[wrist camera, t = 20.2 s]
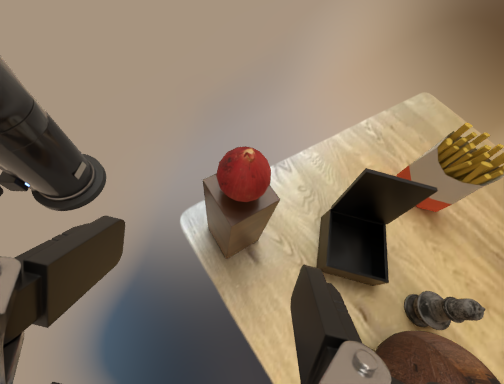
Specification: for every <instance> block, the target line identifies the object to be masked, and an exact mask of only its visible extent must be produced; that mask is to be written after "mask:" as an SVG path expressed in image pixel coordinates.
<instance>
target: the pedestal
mask: <svg viewBox="0 0 504 384" xmlns="http://www.w3.org/2000/svg"><path fill="white" fill-rule="evenodd" d="M216 175H217V174H214V175H212V176H210V177H208V178H206V179H203V186H204V195H205V204H206V212H207V221H208V228H209V230H210V231H211V233H212V235H213V237H214V238H215V240H216V242H217V244H218V245H219V247H220V249H221V251H222V252H223V254H224V256H225V258H226V259H228V258H229V257H231V256H233V255H234V254H236V253H238V252H239V251H241V250H243V249H244V248H246V247H248V246H249V245H251V244H252V243H254V242H256V241H257V240H258V239H259V237H260V236H261V234H262V232H263V230H264V228H265V227H266V225H267V223H268V221H269V219H270V217H271V216H272V214H273V212H274V210H275V208H276V206H277V205H278V203H279V201H280V199H279V197H278V196H277V194H276V193H275V192H274V190H273V189H272V188H271V186H270V185H269V186H268V188H267V190H266V192H265V193H264V195H262V196H261V197H259V198H258V199H256V200H253V201H249V202H241V201H236V200H234V199H232V198H230V197H228V196H227V195H226V194H225V193H224V192H223V191H222V190H221V189H220V187H219V183H218V180H217V177H216Z"/></svg>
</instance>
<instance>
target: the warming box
mask: <svg viewBox="0 0 504 384" xmlns="http://www.w3.org/2000/svg"><path fill="white" fill-rule="evenodd" d="M317 268H319V269H321V270H322V272H324V273H328V274H332V275H335V276H339V277H343V278H346V279H350V280H354V281H358V282H361V283H365V284H369V285H372V286H374V285H380V284H385V283H389V280H388V261H387V242H386V224H384V223H380V222H377V221H373V220H369V219H366V218H362V217H358V216H354V215H351V214H347V213H343V212H340V211H336V210H332V209H330V210H329V211H328V212H326V213H325V214H324V215H323V216H322V217H321V226H320V237H319V247H318V258H317Z"/></svg>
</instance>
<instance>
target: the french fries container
mask: <svg viewBox="0 0 504 384" xmlns="http://www.w3.org/2000/svg"><path fill="white" fill-rule="evenodd" d="M471 127H472V125H471V124H469V123H465V124H464V125H463V126H462V127H460V128H459V129H458V130H457V131H456V132H454V131H453V132H452V133H450V134H449V135H448V136H446V137H445V138H444V139H443V140H441V141H440V142H439V143H437V144H436V145H435V146H434V147H432V148H431V149H430V150H428V151H427V152H426V153H424V154H423V155H422V156H421V157H419V158H418V159H417V160H415V161H414V162H413V163H412V164H410V165H409V166H408V167H406V168H405V169H404V170H402V171H401V172H400V173H399V174H397V177H400V178H403V179H407V180H411V181H415V182H418V183H422V184H426V185H429V186H433V187H437V190H438V191H437V192H436V193H434V194H433V195H431V196H430V197H428V198H427V199H425V200H424V201H422V202H421V203H419V204H418V205H416V207H419V208H423V209H426V210H430V211H434V212H437V211H439V210H441V209H443V208H446V207H448V206H450V205H452V204H454V203H456V202H457V201H459V200H461V199H462V198H464V197H466V196H468V195H469V194H471V193H473V192H475V191H476V190H478V189H480V188H482V187H484V186H487V185H489V184H491V183H493V182H495V181H497V180H499V179H501V178H502V177H503V176H504V165H503V166H501V167H499V165H501V164H503V163H504V153H502V154H501V155H499V156H498V157H496V158H495V159H493V160H492V161H491V160H490V159H489V158H490V157H491V156H493V155H494V154H495V153H497V152H498V151H499V150H501V149H502V148H503V147H504V146H503V145H501V144H498V145H497V146H496V147H494V148H493V149H491V147H489V146H487V145H485V146H483V147H481V148H479V149H478V150H477V149H476V147H475V146H476V145H478V144H479V143H481V142H482V141H483V140H485V139H486V138H487V137H489V136H490V135H489V134H488V133H483V134H482V135H480V136H479V137H477V138H476V139H475V140H473V141H472V142H470V143H468V141H469V140H471V139H472V138H474V137H475V136H477V134H476V133H474V132H473V133H471V134H470V135H468V136H467V137H465V138H464V137H463V138H462V137H460V136H461V135H462V134H463V133H464V132H466V131H467V130H468V129H469V128H471ZM490 149H491V150H490ZM489 150H490V151H489ZM487 151H489V152H487Z"/></svg>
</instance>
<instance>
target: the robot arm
mask: <svg viewBox="0 0 504 384" xmlns="http://www.w3.org/2000/svg"><path fill="white" fill-rule="evenodd" d="M0 169H1V170H2V171H3V172H2V173H1V175H0V184H1V185H2V186H4V187H6V188H7V189H9V190H11V191H27V190H28V188H30V189H31V190H33V191H34V192H36V193H40V194H41V195H43V196H44V197H46V198H48V199H50V200H53V201H68V200H72V199H75V198H77V197H79V196H81V195H83V194H84V193H86V192H87V191H88V190H89V189H90V188H91V186H92V185H93V183H94V181H95V178H96V171H95V168H94V167H93V165H92V164H91V163H90V162H89V161H88V160H87V159H86V158H85V157H84V156H83V154H81V152H80V151H79V150H78V149H77V147H76V146H75V145H74V144H73V143H72V141H71V140H70V139H69V138H68V137H67V136H66V135H65V133H64V132H63V131H62V130H61V129H60V128H59V126H58V125H57V124H56V123H55V122H54V120H53V119H52V118H51V117H50V116H49V115H48V113H47V112H46V111H45V110H44V109H43V108H42V107H41V105H40V104H39V103H38V102H37V101H36V100H35V98H34V97H33V96H32V95H31V94H30V93H29V91H28V90H27V89H26V88H25V87H24V86H23V84H22V83H21V82H20V81H19V79H18V78H17V77H16V75H15V74H14V72H13V71H12V70H11V68H10V67H9V66H8V64H7V63H6V62H5V61H4V59H3V58H2V57H1V56H0ZM2 194H3V189H2V188H1V187H0V196H1V195H2ZM124 232H125V222H124V220H121V219H118V218H113V217H109V216H103V217H101V218H99V219H97V220H95V221H93V222H92V223H90V224H89V223H88V224H84V225H80V226H77V227H73V228H71V229H69V230H67V231H65V232H64V233H62V235H58V236H56V237H54V238H52V240H48V241H46V242H44V243H42V244H40V245H38V246H36V247H35V248H32V249H31V250H29V251H27V252H25V253H23V254H21V255H19V256H17V257H15V258H11V257H0V384H13V380H14V375H15V372H16V368H17V364H18V360H19V356H20V351H21V348H22V344H23V340H24V330H25V329H26V328H28V327H29V326H30V325H31V324H35V325H39V326H43V327H47V328H48V327H49V326H50V325H51V324H52V323H53V322H54V321H56V320H57V319H58V318H59V317H60V316H61V315H62V314H63V313H64V312H66V311H67V310H68V309H69V308H70V307H71V306H72V305H73V304H74V303H75V302H76V301H78V299H80V298H81V297H82V296H83V295H84V294H85V293H86V292H87V291H88V290H89V289H91V287H93V286H94V285H95V284H96V283H97V282H98V281H99V280H101V279H102V278H103V277H104V276H105V275H106V274H107V273H108V272H109V271H110V270H111V269H113V268H114V267H115V266H116V265H117V263H118V262H119V260H120V258H121V256H122V252H123V243H124ZM291 315H292V322H293V330H294V337H295V344H296V351H297V358H298V366H299V373H300V380H301V384H405V383H403V382H401V381H399V380H397V379H395V378H394V377H392V376H391V375H390V372H389V370H388V368H387V366H386V364H385V363H384V362H383V360H382V359H381V358H380V357H379V356H378V355H377V354H376V353H375V352H374V351H373V350H371V349H370V348H369V347H367V346H365V345H364V344H362V341H361V339H360V337H359V335H358V333H357V330H356V328H355V326H354V324H353V321H352V319H351V317H350V315H349V314H348V310H347V308H346V306H345V305H344V301H343V299H342V297H341V295H340V293H339V292H338V291H337V289H336V288H335V287H334V286H333V285H332V284H331V283H327V282H326V280H325V277H324V275H323V272H322V270H321V269H319V268H315V267H311V266H307V265H303V266H302V268H301V270H300V273H299V276H298V279H297V282H296V285H295V287H294V290H293V293H292V297H291ZM52 384H60V383H56V382H52ZM426 384H440V383H437V382H427V383H426Z"/></svg>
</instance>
